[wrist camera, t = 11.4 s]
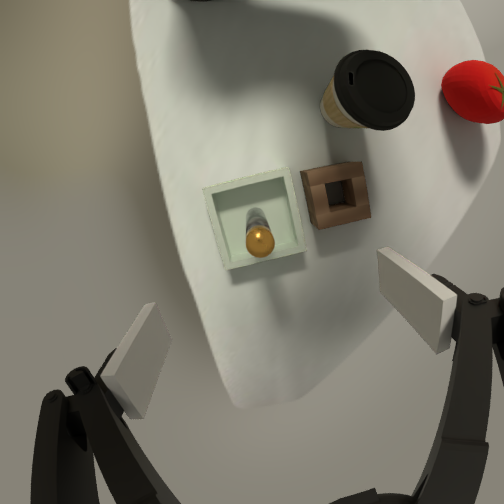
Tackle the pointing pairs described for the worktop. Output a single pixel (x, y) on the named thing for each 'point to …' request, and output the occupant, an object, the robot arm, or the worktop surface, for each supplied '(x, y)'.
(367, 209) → the socket block
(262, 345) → the worktop surface
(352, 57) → the coffee cup
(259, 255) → the pin
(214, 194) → the tray
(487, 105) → the tomato
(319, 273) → the worktop surface
